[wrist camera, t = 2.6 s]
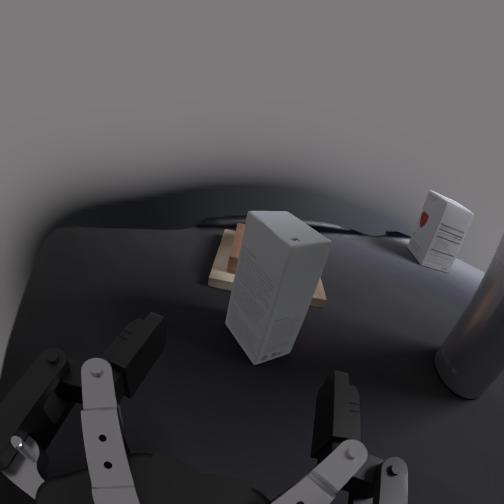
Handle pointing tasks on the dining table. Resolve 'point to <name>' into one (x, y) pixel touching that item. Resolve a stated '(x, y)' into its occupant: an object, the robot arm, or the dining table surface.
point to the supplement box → (439, 232)
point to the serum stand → (227, 265)
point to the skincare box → (274, 283)
